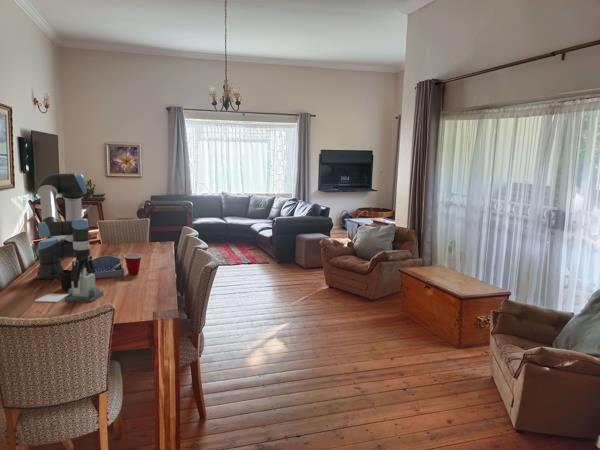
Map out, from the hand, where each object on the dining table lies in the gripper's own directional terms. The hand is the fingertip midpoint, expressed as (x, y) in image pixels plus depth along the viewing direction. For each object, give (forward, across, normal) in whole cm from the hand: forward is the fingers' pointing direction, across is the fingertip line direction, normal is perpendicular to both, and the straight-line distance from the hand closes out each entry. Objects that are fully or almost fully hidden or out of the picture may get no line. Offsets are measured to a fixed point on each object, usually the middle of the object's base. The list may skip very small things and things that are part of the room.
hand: (84, 290), depth 227 cm
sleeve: (+2, 0, 0) cm, 2 cm away
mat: (+4, -3, +15) cm, 16 cm away
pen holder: (+4, +15, +17) cm, 23 cm away
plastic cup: (+4, +50, -3) cm, 50 cm away
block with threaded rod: (+4, 0, 0) cm, 4 cm away
